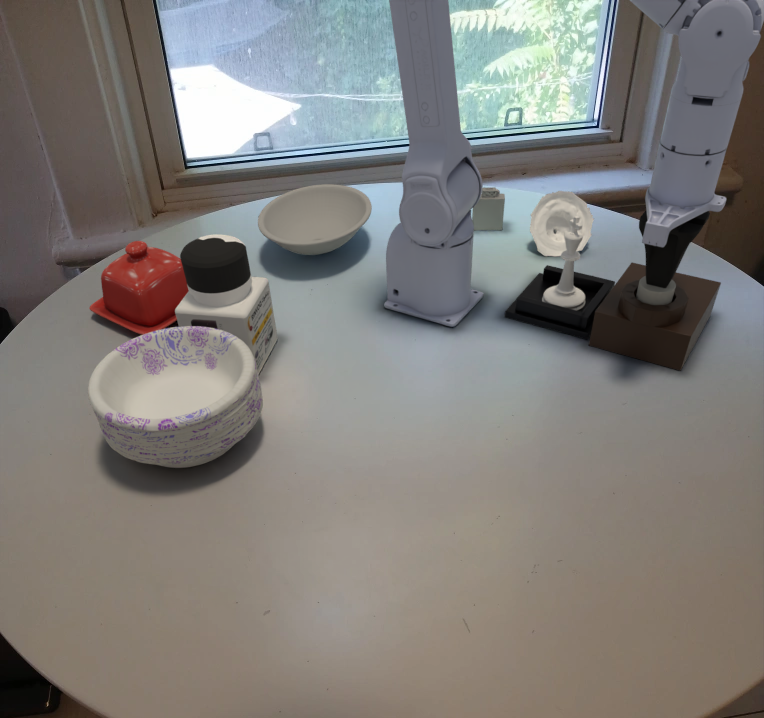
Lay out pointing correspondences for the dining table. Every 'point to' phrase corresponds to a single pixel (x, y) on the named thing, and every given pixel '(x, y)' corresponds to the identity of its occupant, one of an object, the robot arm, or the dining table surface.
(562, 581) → the dining table surface
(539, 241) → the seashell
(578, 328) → the pan
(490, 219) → the lighter
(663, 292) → the button
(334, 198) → the dish
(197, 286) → the container
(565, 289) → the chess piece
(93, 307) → the butter dish
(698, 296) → the brown push button box
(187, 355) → the paper bowls
